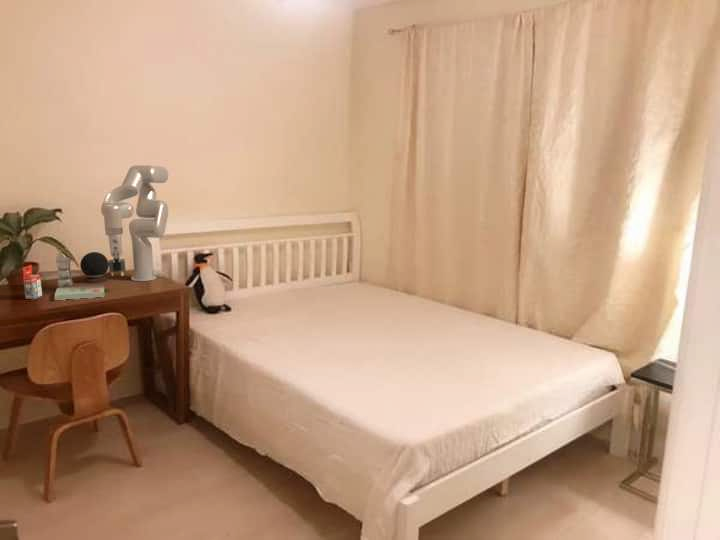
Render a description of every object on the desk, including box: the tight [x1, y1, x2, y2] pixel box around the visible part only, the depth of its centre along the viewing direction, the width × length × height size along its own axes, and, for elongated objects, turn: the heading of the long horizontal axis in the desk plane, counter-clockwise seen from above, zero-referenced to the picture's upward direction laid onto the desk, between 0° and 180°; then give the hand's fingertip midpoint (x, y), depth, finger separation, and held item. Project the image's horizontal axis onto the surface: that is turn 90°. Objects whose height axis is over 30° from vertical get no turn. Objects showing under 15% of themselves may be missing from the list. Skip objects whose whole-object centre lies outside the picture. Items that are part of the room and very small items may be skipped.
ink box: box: [22, 264, 43, 301], centre depth 251 cm, size 4×8×15 cm, turn 3°
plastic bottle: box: [55, 246, 74, 288], centre depth 268 cm, size 6×7×20 cm
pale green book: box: [53, 284, 105, 301], centre depth 258 cm, size 20×15×3 cm
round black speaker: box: [79, 251, 109, 284], centre depth 286 cm, size 13×13×15 cm
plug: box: [107, 258, 127, 277], centre depth 264 cm, size 7×5×7 cm
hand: (117, 268), depth 265 cm, fingers closed on plug, 5 cm apart
